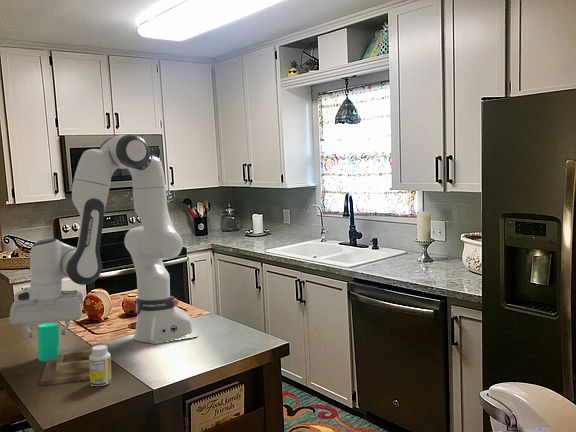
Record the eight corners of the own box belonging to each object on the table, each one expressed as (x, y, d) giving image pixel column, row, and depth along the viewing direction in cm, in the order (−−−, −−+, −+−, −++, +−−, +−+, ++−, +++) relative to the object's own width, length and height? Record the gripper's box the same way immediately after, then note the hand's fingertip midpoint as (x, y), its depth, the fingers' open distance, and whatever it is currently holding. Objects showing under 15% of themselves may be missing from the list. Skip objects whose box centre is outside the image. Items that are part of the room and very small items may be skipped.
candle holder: (110, 356, 163) (110, 344, 162) (111, 377, 146) (110, 363, 146) (47, 363, 157) (47, 350, 156) (40, 385, 140) (40, 371, 140)
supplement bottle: (104, 378, 145) (103, 342, 144) (115, 383, 141) (114, 346, 141) (85, 384, 141) (84, 347, 140) (96, 389, 137) (95, 352, 136)
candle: (51, 362, 158) (50, 323, 157) (34, 360, 159) (32, 322, 158) (63, 355, 164) (62, 318, 163) (46, 354, 165) (45, 317, 164)
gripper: (83, 287, 166) (83, 330, 167) (11, 291, 160) (12, 336, 160) (82, 291, 160) (82, 335, 161) (8, 295, 154) (9, 341, 154)
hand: (47, 335), depth 161 cm, fingers open, 8 cm apart
